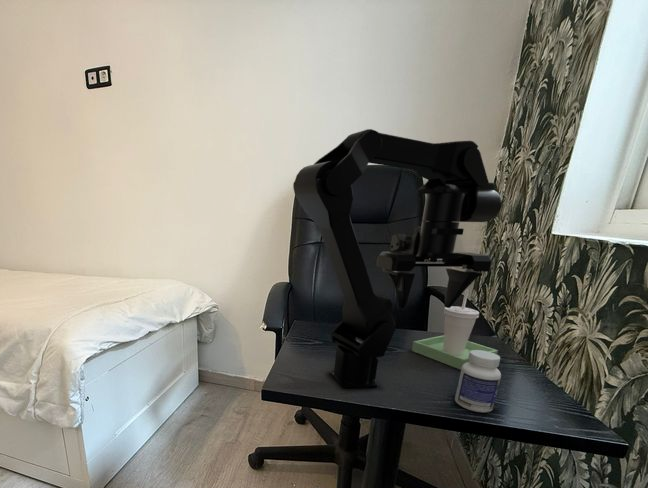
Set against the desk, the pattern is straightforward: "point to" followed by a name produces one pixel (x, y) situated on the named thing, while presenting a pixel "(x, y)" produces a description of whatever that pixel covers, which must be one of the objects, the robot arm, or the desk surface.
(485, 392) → the pill bottle
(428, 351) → the tray
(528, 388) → the desk surface
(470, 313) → the smoothie
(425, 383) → the desk surface
